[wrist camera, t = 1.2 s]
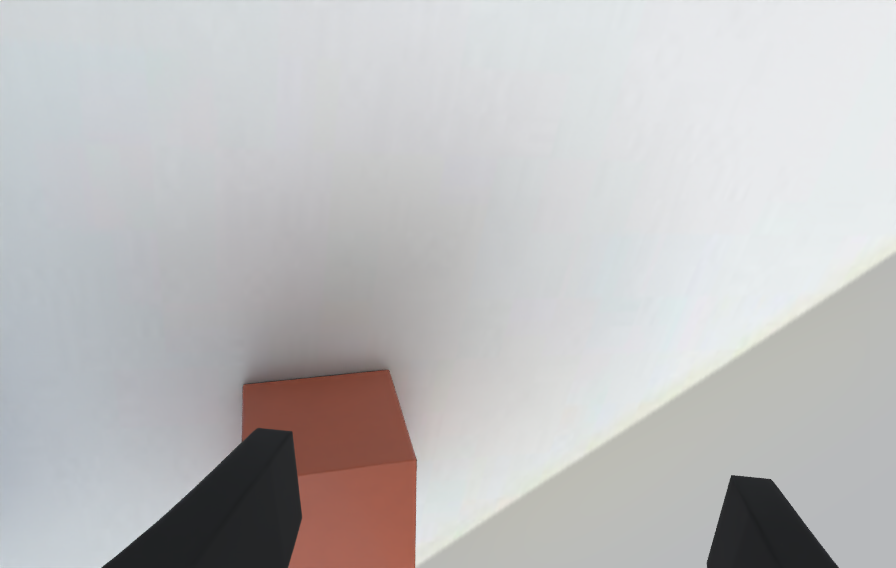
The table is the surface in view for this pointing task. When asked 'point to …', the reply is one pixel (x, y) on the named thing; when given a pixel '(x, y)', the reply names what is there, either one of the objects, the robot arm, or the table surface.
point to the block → (344, 467)
